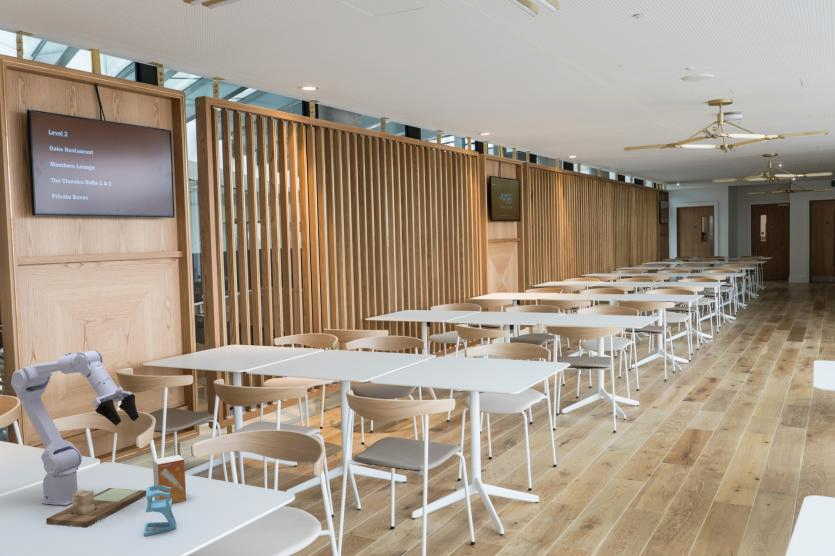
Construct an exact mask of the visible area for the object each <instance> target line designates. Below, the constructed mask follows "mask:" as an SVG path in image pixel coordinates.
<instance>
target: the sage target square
mask: <svg viewBox="0 0 835 556" xmlns="http://www.w3.org/2000/svg"><path fill="white" fill-rule="evenodd" d="M126 489H127V488H116V489H110V490H108V491H106V492H104V493H102V494H100V495H98V496H96V497H94V501H103V502H116V503H117V502H119V501H121V500H123V499H125V498H127V497H129V496H131V495H133V494H135V493H137V492H138V491H139V490H140V489H130V490H126Z"/></svg>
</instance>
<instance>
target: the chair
mask: <svg viewBox="0 0 835 556" xmlns="http://www.w3.org/2000/svg"><path fill="white" fill-rule="evenodd" d="M157 489H164V490H166V491H168V492H167V493H165V492H163V491H159V490H157ZM170 490H171V487H165V486H162V485H155V486H154V485H151V486H149V487H147V488H146V490H145V491H146V496H145V497H146V501H147V503H146V507H145V512H146V513H152V512H154V513H161V514H162V515H163V516H164V517H165V519H166V521H158V522H157V521H156V522H155V521H151V522H145V524H144V530H143V537H149V536H152V535H155V534H160V533H163V532H167V531H172V530H175V529H177V521H176V519H175V516H174V513H173V511H172V505H173V503H172V499H170V494H171V493H170ZM155 496H165V497H167V499H165V500H158V501H155V500H153V498H155ZM149 527H160V528H155V529H152V530H148V528H149Z"/></svg>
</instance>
